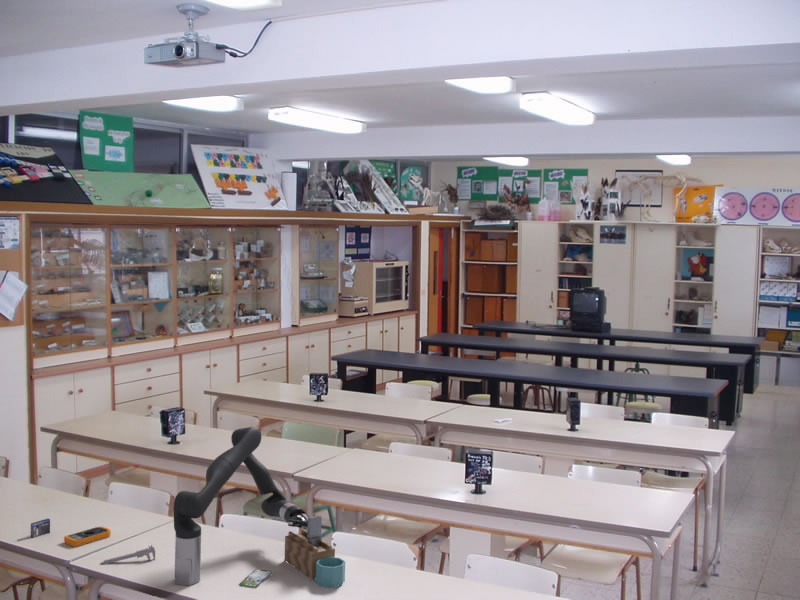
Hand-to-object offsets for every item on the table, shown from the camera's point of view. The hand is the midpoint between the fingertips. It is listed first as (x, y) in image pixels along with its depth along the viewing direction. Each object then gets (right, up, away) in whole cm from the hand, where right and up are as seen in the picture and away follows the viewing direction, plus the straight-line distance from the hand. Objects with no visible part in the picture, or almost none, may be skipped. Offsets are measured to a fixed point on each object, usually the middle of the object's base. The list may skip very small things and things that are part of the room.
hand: (313, 526), depth 311 cm
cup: (+8, -18, -11) cm, 22 cm away
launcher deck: (-2, -17, +3) cm, 17 cm away
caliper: (-73, -15, +3) cm, 75 cm away
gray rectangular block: (+1, -7, -1) cm, 7 cm away
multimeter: (-97, -13, +25) cm, 101 cm away
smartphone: (-20, -17, -11) cm, 29 cm away
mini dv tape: (-119, -12, +29) cm, 123 cm away
